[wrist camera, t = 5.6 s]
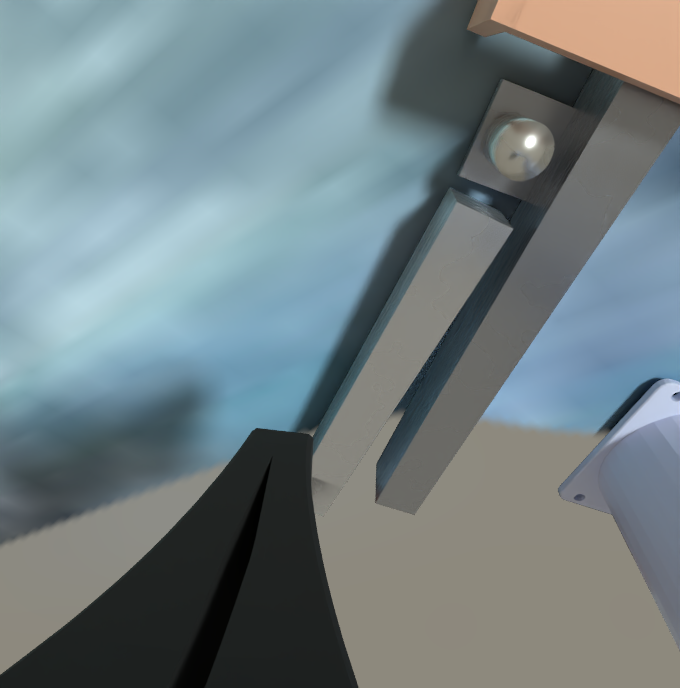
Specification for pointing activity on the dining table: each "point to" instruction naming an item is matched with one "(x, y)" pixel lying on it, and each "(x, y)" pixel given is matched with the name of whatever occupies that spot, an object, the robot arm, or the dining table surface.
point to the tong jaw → (405, 335)
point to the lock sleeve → (597, 35)
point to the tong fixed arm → (525, 253)
